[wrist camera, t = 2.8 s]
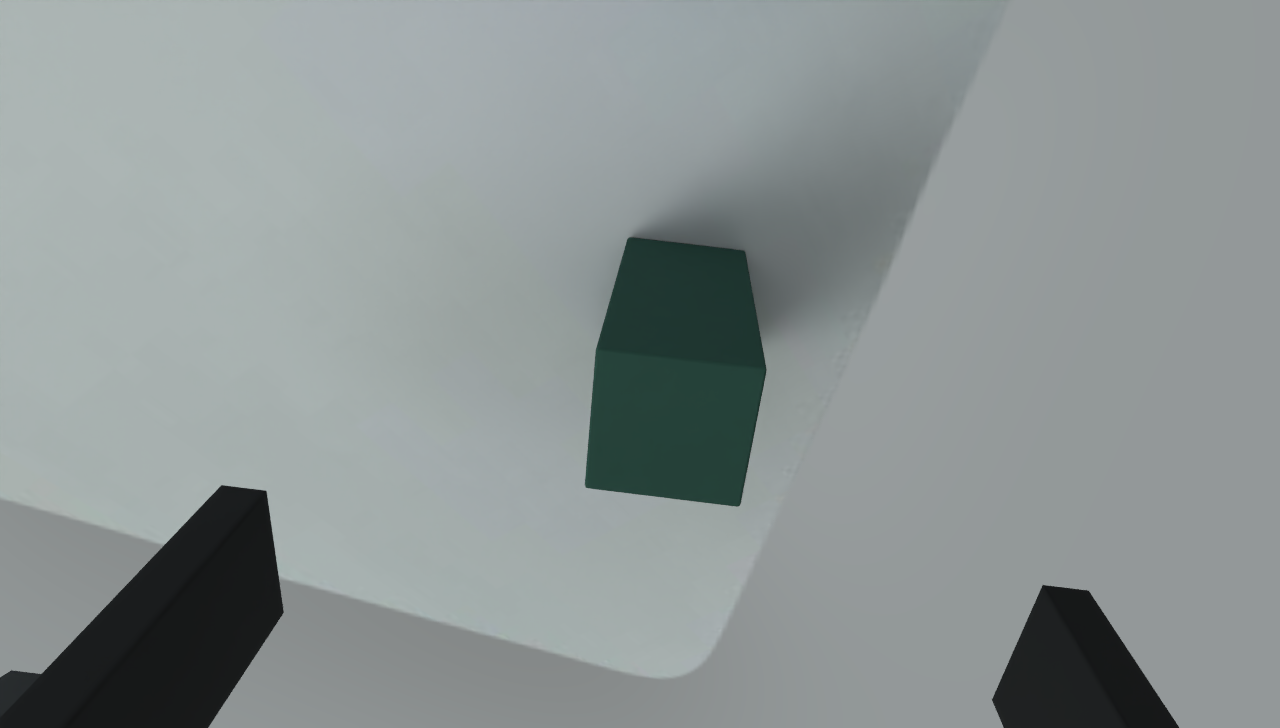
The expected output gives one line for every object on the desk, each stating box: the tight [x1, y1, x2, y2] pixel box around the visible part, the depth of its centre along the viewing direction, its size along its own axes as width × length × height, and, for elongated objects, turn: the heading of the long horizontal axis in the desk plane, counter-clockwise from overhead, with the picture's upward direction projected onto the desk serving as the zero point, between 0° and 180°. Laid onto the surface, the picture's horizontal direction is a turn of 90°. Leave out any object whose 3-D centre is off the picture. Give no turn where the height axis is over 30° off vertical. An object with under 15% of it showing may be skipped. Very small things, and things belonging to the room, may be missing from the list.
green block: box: [585, 237, 766, 506], centre depth 23 cm, size 4×4×9 cm
